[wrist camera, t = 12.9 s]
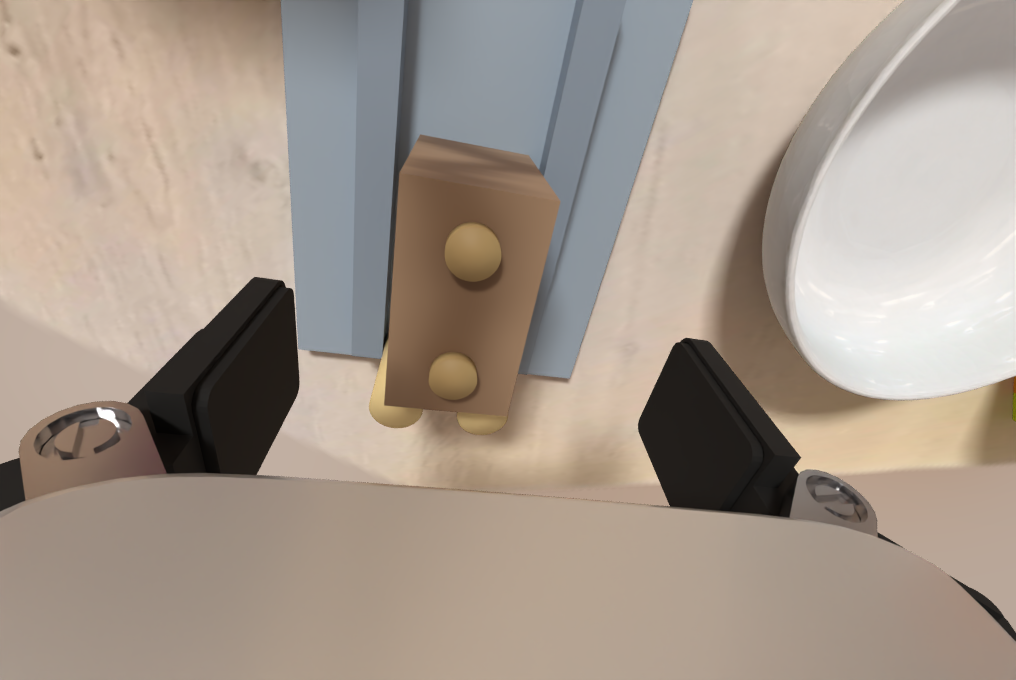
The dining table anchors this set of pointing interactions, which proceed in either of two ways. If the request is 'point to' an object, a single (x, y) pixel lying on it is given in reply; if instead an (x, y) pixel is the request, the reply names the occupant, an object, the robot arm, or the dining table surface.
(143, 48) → the dining table surface
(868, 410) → the dining table surface
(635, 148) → the slot board
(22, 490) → the robot arm
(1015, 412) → the puzzle toy
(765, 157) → the dining table surface
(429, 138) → the panel block
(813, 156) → the serving bowl
